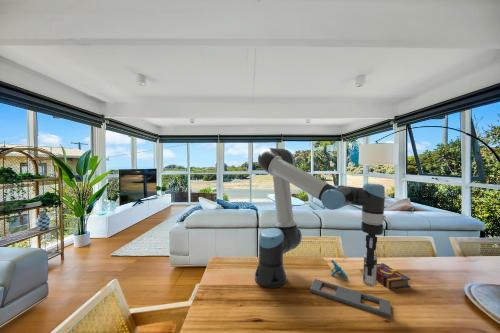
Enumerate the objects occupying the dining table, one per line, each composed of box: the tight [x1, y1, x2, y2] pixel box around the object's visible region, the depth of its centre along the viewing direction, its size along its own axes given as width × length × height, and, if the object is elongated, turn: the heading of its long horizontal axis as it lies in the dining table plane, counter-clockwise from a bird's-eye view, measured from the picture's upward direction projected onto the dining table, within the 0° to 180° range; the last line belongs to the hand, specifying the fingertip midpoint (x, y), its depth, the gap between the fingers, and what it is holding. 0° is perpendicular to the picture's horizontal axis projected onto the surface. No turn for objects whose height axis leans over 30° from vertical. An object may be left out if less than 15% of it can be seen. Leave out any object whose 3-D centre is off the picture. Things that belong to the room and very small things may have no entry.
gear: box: [330, 259, 348, 279], centre depth 108 cm, size 11×6×10 cm
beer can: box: [362, 252, 378, 288], centre depth 86 cm, size 5×5×12 cm
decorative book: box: [376, 262, 411, 290], centre depth 105 cm, size 11×16×5 cm
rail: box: [309, 278, 392, 319], centre depth 90 cm, size 30×9×2 cm, turn 59°
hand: (369, 279), depth 86 cm, fingers closed on beer can, 5 cm apart
